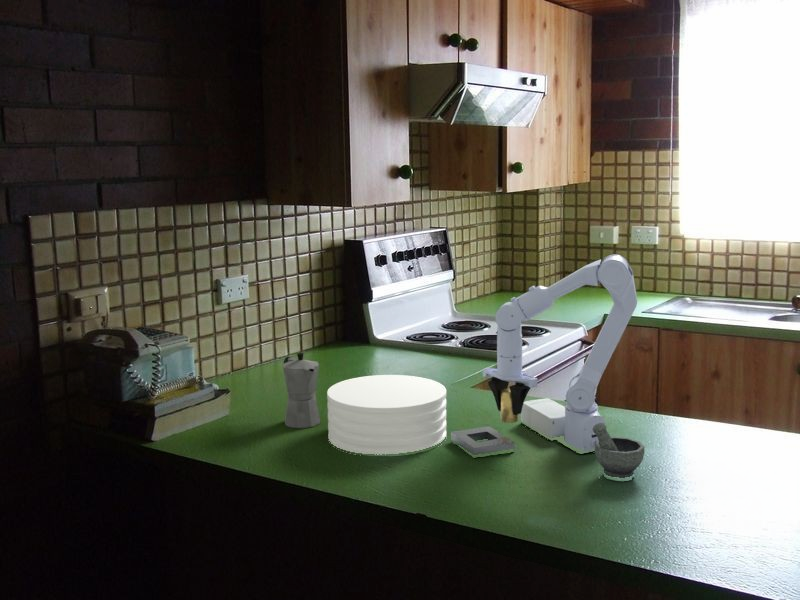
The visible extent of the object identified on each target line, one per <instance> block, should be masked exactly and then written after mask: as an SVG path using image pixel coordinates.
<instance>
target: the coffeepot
mask: <svg viewBox="0 0 800 600" xmlns="http://www.w3.org/2000/svg"><path fill="white" fill-rule="evenodd" d="M296 355H297V359H296V358H295V357H291V356H286V357H285V358H284V360H283V363H282V368H283V374H284V381H285V384H286V385H285V387H286V391H287V393H288V394H287V395H288V396H287V401H286V409H285V416H284V417H285V418H284V424H285V426H286V427H288V428H293V429H309V428H313V427H317V426H318V425H319V424H320V423H321V419H320V414H319V407H318V403H317V399H316V398H317V397H316V391H317V385H318V378H319V369H320V364H319V362H318V361H315V360H308V359H304V352H298V353H297V354H296Z"/></svg>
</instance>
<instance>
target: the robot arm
mask: <svg viewBox="0 0 800 600" xmlns="http://www.w3.org/2000/svg"><path fill="white" fill-rule="evenodd" d="M599 283H600V284H602V286H603V287H604V288H605V289H606V290H607V291H608V292H609V295H610V298H611V300H612V302H613V305H612V307H611V309H610V310H609V313H608V314H607V317H606V319H605V321H604V323H603V325H602V327H601V330H599V333H598V335H597V338H596V339H595V341H594V342H593V345H592V348H591V350H590V352H589V353H588V356H587V357H586V360H585V362H584V364H583V366H582V367H581V369H580V370H579V372H578V373H577V374H576V375H575V376H574V377H572V378H571V380H570V382H569V385H568V389H567V391H566V393H565V400H566V403H565V404H564V407H565V436H564V441H565V442H566V443H567V444H569V445H572V446H574V447H577V448H579V449H580V450H582V451H586V450H587V451H588V450H593V449H594V450H595V442H597V441H598V438H597V435H596V434H595V433H594V432H593V430H592V429H593V427H594V426H595V425H596V424H598V423H604V424H605V426H606V427H607V424H606V420H605V418H604V417H603V416H601V414H600V413H599V410H598V409H599V406H598V404H597V402H596V401H595V400H596V394H597V389H598V385H599V384H600V381H601V378H602V376H603V374H604V372H605V370H606V368H607V365H608V364H609V361H611V358H612V355H613V354H614V352H615V350H616V348H617V346H618V344H619V342H620V341H621V338H622V336H623V334H624V332H625V330H626V327H627V326H628V323H629V322H630V320H631V318H632V315H633V314H634V312H635V310H636V308H637V305H638V297H637V296H638V295H637V289H636V285H635V278H634V272H633V269H632V268H631V266H630V264H629V262H628V260H627V259H626V258H625V257H623V256H622V255H619V254H610V255H607V256H605V257H604V258H603V259H599V260H595V261H593V262H591V263H589V264H586V265H583V267H581V268H579V269H577V270H575V271H574V272H572V273H570V274H569V275H567V276H565V277H563V278H562V279H560V280H558V281H557V282H555V283H552V285H550V286H543V285H538V286H535V285H532V286H530V287H529V288H528V291H527V292H525V293H523V294H521V295H520V296H519V295H518V297H515V296H513V297H511V298H510V301H507V302H505V303H504V304H502V305H501V306H500V307H499V308H498V310H496V313H495V323H496V324H497V335H496V368H493V367H485V368H482V378H491V380H490V381H488V382H487V385H488V387H489V389H490V390H491V392H492V394H493V397H494V400H495V404H496V407H497V411H499V412H501V390H502V389H510V391H511V395H512V402H513V415H518V416H519V415H520V414H521V411H522V407H523V403H524V401H525V400H526V398H527V396H528V393H529V392H530V390H531V389H534V388H537V387H538V378H537V377H534V376H532V375H529V374H527V373H524V371H523V334H522V322H524V321H526V322H528V321H530V320H531V319H534V318H535V317H537V316H539V315H540V314H542V313H545V312H546V311H548V310H551V309H552V307H553V305H554V302H555V300H557V299H559V298H561V297H563V296H565V295H568V294H569V293H571V292H573V291H575V290H577V289H579V288H582V287H584V286H585V285H587V286H593V287H595V286H596V287H598V286H599ZM509 383H512V384H511V385H509ZM513 383H514V384H513Z"/></svg>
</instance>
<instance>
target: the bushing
mask: <svg viewBox="0 0 800 600" xmlns="http://www.w3.org/2000/svg"><path fill="white" fill-rule="evenodd" d="M500 421H501V422H502V423H507V424H510V423H511V424H513V423H517V422H518V421H519V414H518V415H513V402H512V395H511V391H510V389H509V388H508V389H502V390H501V411H500Z"/></svg>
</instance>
